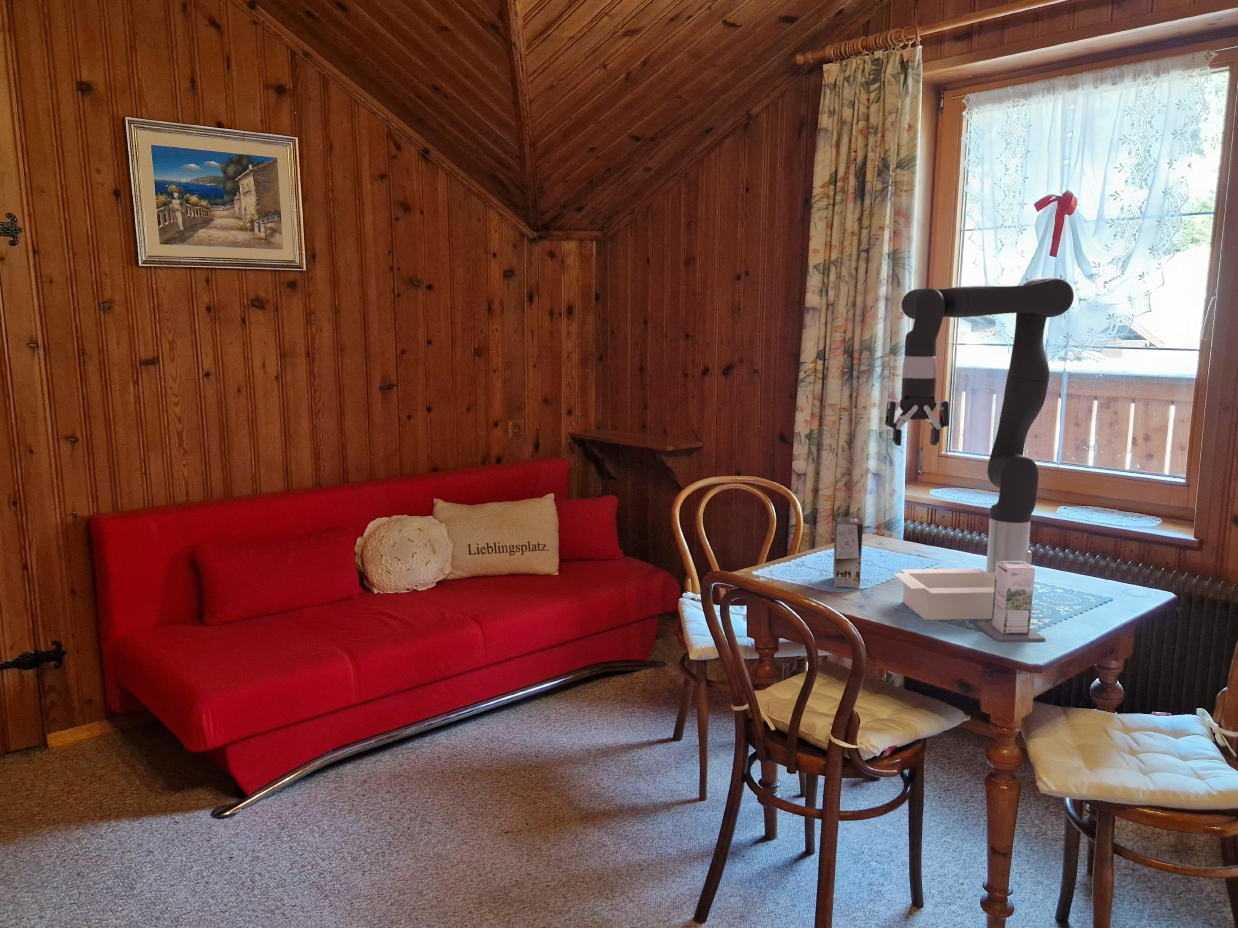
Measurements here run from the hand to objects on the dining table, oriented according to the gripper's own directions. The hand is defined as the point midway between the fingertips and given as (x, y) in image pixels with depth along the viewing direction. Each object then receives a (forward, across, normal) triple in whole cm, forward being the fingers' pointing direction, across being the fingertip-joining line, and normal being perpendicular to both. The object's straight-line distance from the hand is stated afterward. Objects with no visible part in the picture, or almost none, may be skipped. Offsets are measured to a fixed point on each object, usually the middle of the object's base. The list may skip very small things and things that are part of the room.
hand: (915, 445), depth 215 cm
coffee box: (+36, +12, -10) cm, 40 cm away
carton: (+36, -6, +13) cm, 39 cm away
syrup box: (+36, -11, +29) cm, 47 cm away
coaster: (+36, -11, +29) cm, 48 cm away
